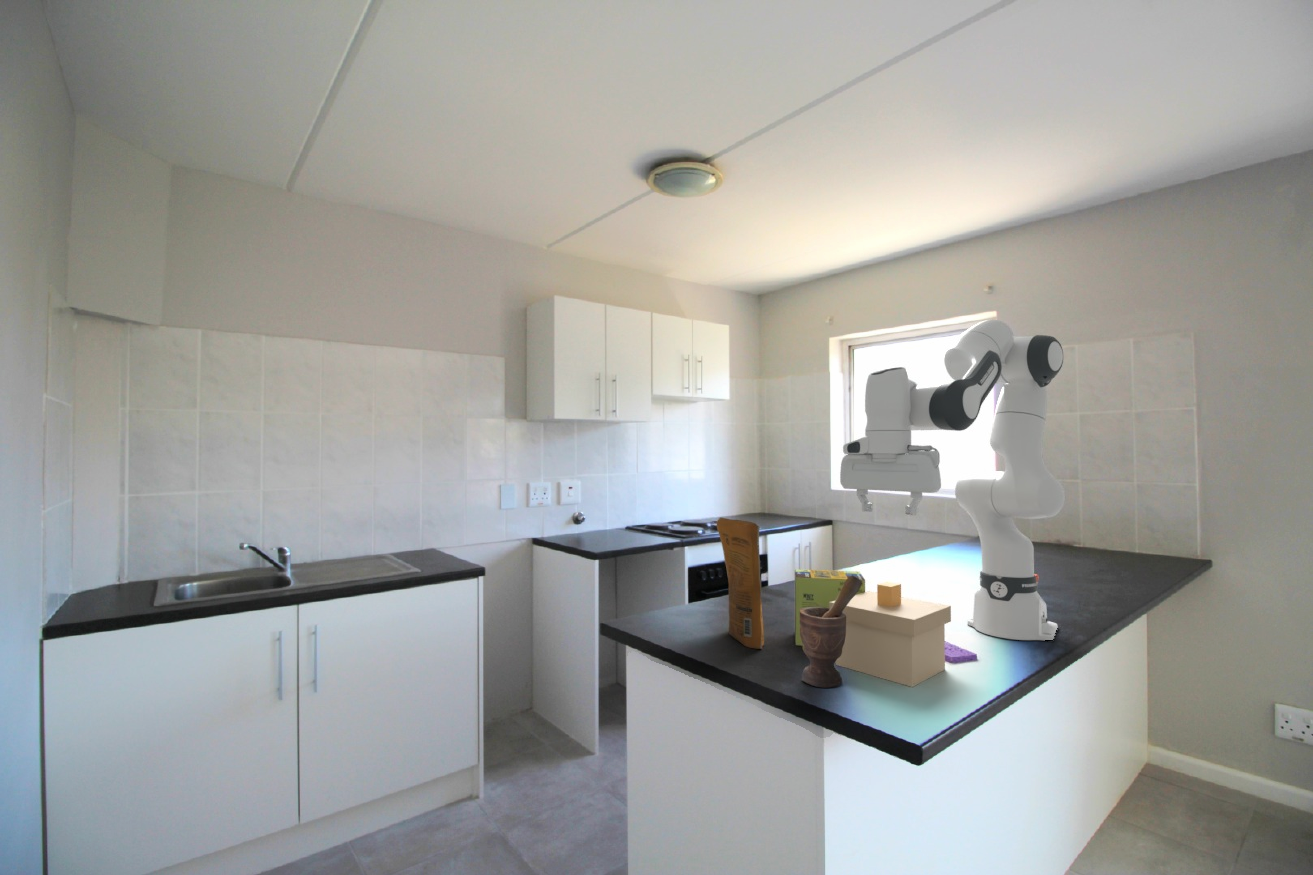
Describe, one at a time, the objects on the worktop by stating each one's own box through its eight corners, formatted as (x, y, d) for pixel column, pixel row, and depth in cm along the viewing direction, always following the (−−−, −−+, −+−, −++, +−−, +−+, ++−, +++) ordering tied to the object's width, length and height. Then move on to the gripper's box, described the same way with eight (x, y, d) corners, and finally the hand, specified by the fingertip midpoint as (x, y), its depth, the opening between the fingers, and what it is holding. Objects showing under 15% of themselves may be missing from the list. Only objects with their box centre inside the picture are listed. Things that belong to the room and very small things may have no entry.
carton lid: (869, 605, 136) (868, 572, 136) (950, 621, 123) (950, 585, 123) (829, 617, 126) (829, 582, 126) (914, 636, 112) (913, 597, 113)
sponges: (935, 644, 141) (935, 636, 141) (978, 662, 129) (978, 653, 129) (909, 647, 139) (909, 638, 139) (951, 665, 127) (951, 656, 127)
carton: (871, 650, 135) (870, 595, 135) (944, 669, 123) (944, 609, 123) (835, 664, 125) (835, 605, 126) (912, 686, 113) (911, 621, 114)
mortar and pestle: (837, 668, 123) (836, 568, 124) (869, 683, 115) (868, 576, 116) (790, 677, 118) (790, 573, 119) (820, 693, 110) (820, 581, 111)
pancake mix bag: (745, 653, 132) (745, 523, 133) (714, 629, 151) (714, 515, 152) (774, 650, 134) (773, 522, 135) (739, 627, 153) (739, 514, 153)
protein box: (866, 650, 135) (866, 579, 135) (795, 645, 138) (794, 576, 138) (860, 636, 145) (860, 570, 145) (794, 632, 148) (793, 568, 149)
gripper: (946, 445, 120) (947, 516, 119) (851, 446, 135) (852, 508, 134) (931, 444, 115) (932, 518, 115) (836, 445, 131) (836, 510, 130)
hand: (888, 513), depth 125 cm, fingers open, 8 cm apart
